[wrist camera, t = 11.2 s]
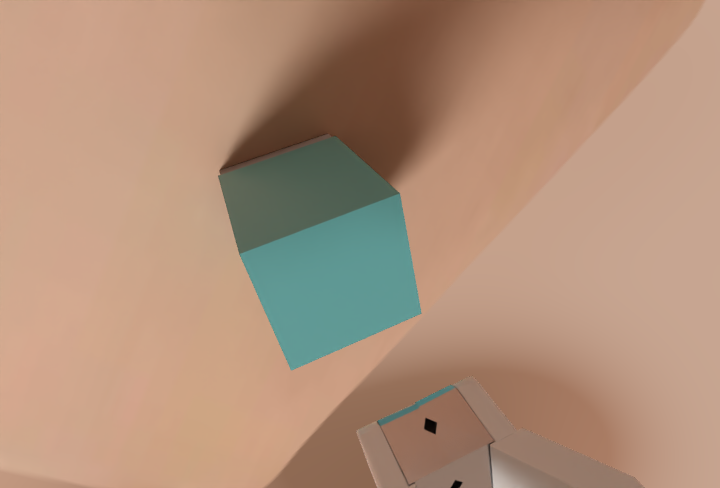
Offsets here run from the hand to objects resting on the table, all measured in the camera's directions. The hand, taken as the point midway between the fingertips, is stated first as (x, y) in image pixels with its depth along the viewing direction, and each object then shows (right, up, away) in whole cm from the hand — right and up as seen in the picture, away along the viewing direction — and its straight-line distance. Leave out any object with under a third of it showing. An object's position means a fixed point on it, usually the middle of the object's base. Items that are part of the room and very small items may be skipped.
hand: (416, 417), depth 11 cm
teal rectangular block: (-4, +6, +10) cm, 12 cm away
